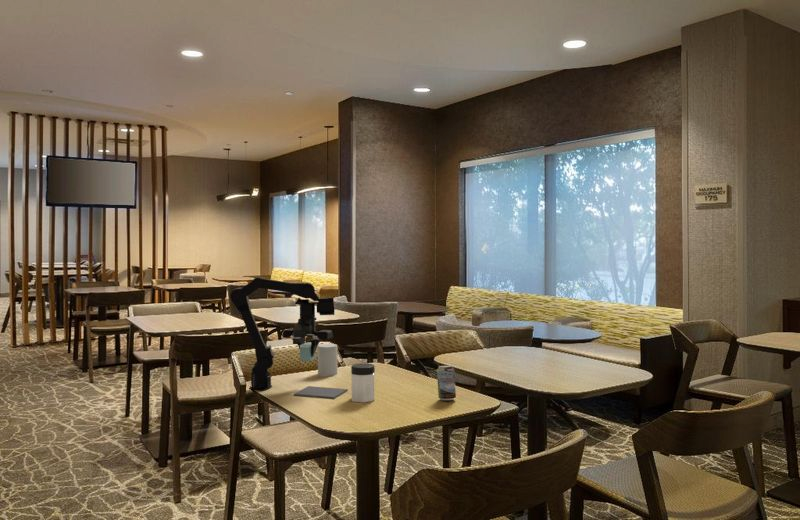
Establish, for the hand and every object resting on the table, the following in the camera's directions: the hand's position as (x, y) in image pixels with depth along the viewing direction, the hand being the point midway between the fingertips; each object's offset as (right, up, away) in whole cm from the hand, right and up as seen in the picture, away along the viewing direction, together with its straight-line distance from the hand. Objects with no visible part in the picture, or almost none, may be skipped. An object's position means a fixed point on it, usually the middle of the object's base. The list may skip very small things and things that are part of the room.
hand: (307, 356), depth 231 cm
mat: (+6, -12, -10) cm, 17 cm away
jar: (+22, -12, -19) cm, 32 cm away
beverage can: (+51, -12, -20) cm, 57 cm away
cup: (+5, -11, +22) cm, 25 cm away
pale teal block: (0, -1, 0) cm, 1 cm away
